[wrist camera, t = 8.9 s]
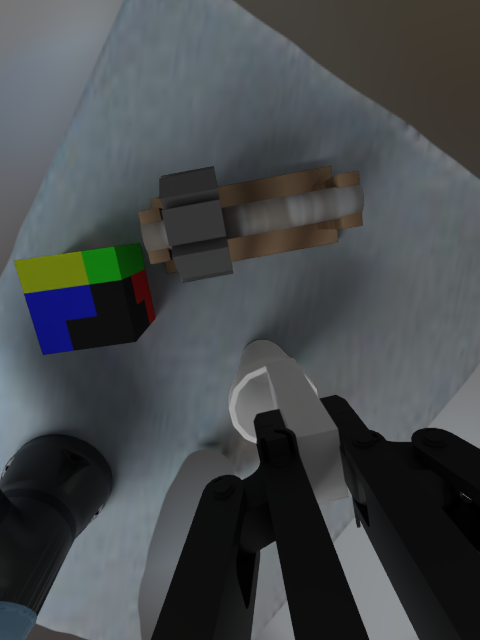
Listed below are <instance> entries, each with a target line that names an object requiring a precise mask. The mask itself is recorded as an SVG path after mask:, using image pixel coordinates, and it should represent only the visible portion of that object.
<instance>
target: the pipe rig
mask: <svg viewBox="0 0 480 640" xmlns="http://www.w3.org/2000/svg"><path fill="white" fill-rule="evenodd" d="M218 192H219V197H220V203H221V210H222V215H223V221H224V226H225V232H226V237H227V241H228V247H229V252H230V258H231V262H233V261H238V260H244V259H249V258H255V257H260V256H266V255H271V254H276V253H282V252H287V251H293V250H298V249H304V248H309V247H315V246H320V245H325V244H331V243H336V242H338V234H337V229H346V228H351V227H357V226H362V225H363V221H362V211H363V206H364V196H363V191H362V188H361V186H360V183H359V171H353V172H348V173H343V174H337V175H335V176H333V177H332V173H331V166H328V167H323V168H317V169H312V170H307V171H301V172H296V173H290V174H285V175H280V176H274V177H269V178H264V179H258V180H253V181H247V182H242V183H237V184H231V185H226V186H220V187H218ZM150 202H151V206H152V209H149V210H143V211H138V215H139V219H140V223H141V234H142V238H143V242H144V245H145V248H146V250H147V252H148V255H149V260H150V264H156V263H161V262H165V266H166V270H167V273H173V272H178V271H177V268H176V265H175V263H174V260H173V258H172V246H169V244H168V239H167V234H166V230H165V225H164V221H163V216H162V211H161V210H163V207H162V204H161V201H160V198H156V199H150Z"/></svg>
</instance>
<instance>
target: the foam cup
mask: <svg viewBox="0 0 480 640" xmlns="http://www.w3.org/2000/svg"><path fill="white" fill-rule="evenodd" d="M289 358H290V357H289V356H288V355H287V354H286V353H285V352H284V351H283V350H282V349H281V348H280V347H279V346H278V345H277V344H275V343H273V342H271V341H269V340H256V341H254V342H252V343H250V344H248V345H247V346H246V347H245V349H244V350H243V351H242V353H241V357H240V361H239V365H238V369H237V373H236V377H235V378H234V379H233V382H232V386H231V390H230V394H229V411H230V415H231V419H232V423H233V426H234V427H235V428H236V429H237V430H238V431H239V433H240V434H241V435H242V436H243V437H244V438H245V439H246V440H249V441H251V442H254V443H256V442H257V438H256V433H255V428H254V422H253V421H254V419H255V416H256V414H258V413H262V412H267V411H271V410H275V409H274V405H273V400H272V395H271V390H270V385H269V381H268V376H267V371H266V366H265V364H267V363H271V362H276V361H280V360H285V359H289ZM298 366H299V367H300V369H301V370H302V372H303V374H304V375H305V377H306V378H307V380H308V382H309V383H310V385H311V387H312V388H313V390H314V391H315V393H316V395H317V396H318V394H317V389H316V387H315V385H314V384H313V382H312V380H311V379H310V377H309V376H308V375H307V374H306V372H305V371H304V370H303V368H302V367H301V366H300V365H298Z"/></svg>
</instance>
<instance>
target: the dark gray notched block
mask: <svg viewBox="0 0 480 640" xmlns="http://www.w3.org/2000/svg"><path fill="white" fill-rule="evenodd" d="M159 189H160V201H161V204H162V207H163V210H161V211H162V216H163V221H164V225H165V230H166V234H167V239H168V244H169V246H172V258H173V260H174V263H175V265H176V268H177V271H178V273H179V276H180V278H181V279H183V283H184V282H189V281H195V280H200V279H205V278H211V277H216V276H222V275H227V274H233V269H232V263H231V258H230V252H229V247H228V241H227V237H226V232H225V226H224V221H223V215H222V210H221V203H220V197H219V192H218V186H217V181H216V176H215V171H214V166H212V167H207V168H201V169H196V170H191V171H185V172H180V173H174V174H169V175H164V176H161V178H159Z"/></svg>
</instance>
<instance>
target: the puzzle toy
mask: <svg viewBox="0 0 480 640" xmlns="http://www.w3.org/2000/svg"><path fill="white" fill-rule="evenodd" d="M14 263H15V266H16V269H17V273H18V276H19V279H20V282H21V286H22V289H23V292H24V295H25V299H26V302H27V305H28V308H29V311H30V315H31V318H32V321H33V324H34V328H35V331H36V334H37V337H38V341H39V344H40V347H41V350H42V354H43V355H46V354H53V353H60V352H67V351H74V350H81V349H88V348H95V347H102V346H110V345H117V344H124V343H131V342H136V341H137V340H138V339H139V337H140V336H141V335H142V334H143V333H144V331H145V330H146V329H147V328H148V327H149V325H150V324H151V323H152V322H153V321H154V319H155V314H154V309H153V305H152V300H151V295H150V290H149V285H148V281H147V276H146V271H145V266H144V261H143V257H142V252H141V247H140V243H136V244H129V245H122V246H115V247H108V248H101V249H93V250H86V251H79V252H72V253H65V254H58V255H51V256H44V257H37V258H29V259H22V260H15V261H14Z"/></svg>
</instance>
